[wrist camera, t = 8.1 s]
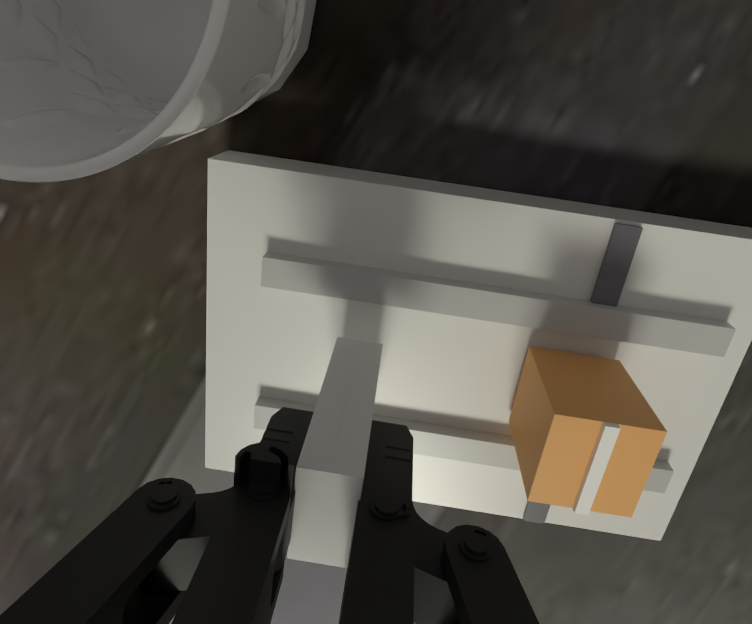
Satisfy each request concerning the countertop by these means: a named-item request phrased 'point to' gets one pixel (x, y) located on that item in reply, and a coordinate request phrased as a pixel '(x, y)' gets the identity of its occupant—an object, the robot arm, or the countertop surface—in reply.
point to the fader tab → (583, 433)
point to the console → (463, 317)
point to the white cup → (133, 75)
